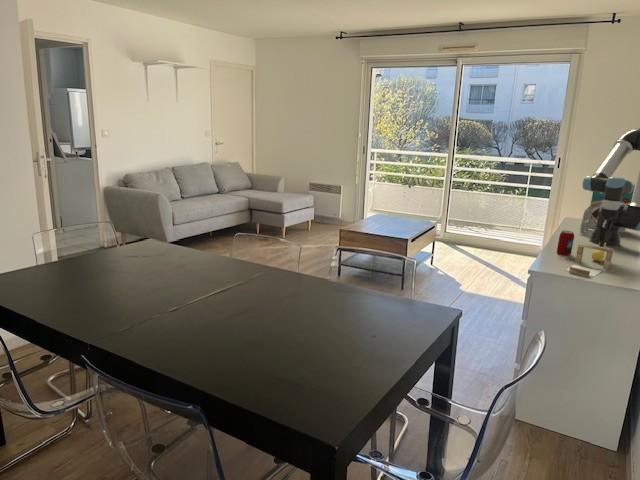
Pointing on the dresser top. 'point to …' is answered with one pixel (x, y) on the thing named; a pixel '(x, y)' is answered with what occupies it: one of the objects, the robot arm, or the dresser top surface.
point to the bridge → (608, 250)
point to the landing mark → (592, 271)
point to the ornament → (585, 225)
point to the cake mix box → (596, 203)
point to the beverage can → (565, 243)
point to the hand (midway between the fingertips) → (600, 254)
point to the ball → (597, 255)
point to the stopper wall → (579, 271)
